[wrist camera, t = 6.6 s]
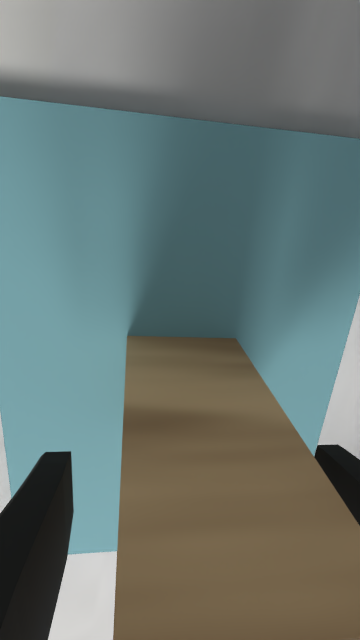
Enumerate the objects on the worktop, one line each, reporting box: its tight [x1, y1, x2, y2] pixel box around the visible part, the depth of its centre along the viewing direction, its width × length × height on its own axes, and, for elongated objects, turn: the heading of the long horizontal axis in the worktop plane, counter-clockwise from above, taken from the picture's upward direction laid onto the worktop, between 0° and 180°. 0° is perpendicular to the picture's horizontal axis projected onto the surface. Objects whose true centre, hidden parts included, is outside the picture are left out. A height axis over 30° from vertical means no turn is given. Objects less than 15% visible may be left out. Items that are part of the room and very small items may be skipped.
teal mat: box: [0, 96, 360, 554], centre depth 13 cm, size 18×13×1 cm
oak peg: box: [113, 336, 360, 640], centre depth 9 cm, size 4×4×9 cm
